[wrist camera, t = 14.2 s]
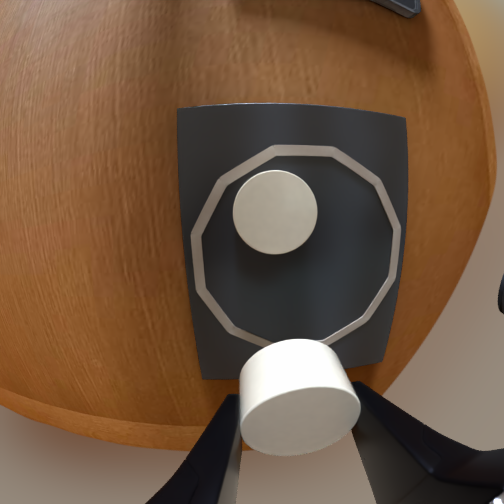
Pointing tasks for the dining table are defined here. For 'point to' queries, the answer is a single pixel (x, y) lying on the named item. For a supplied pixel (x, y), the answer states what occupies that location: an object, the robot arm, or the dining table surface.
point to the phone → (402, 6)
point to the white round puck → (274, 212)
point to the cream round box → (295, 398)
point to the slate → (312, 250)
